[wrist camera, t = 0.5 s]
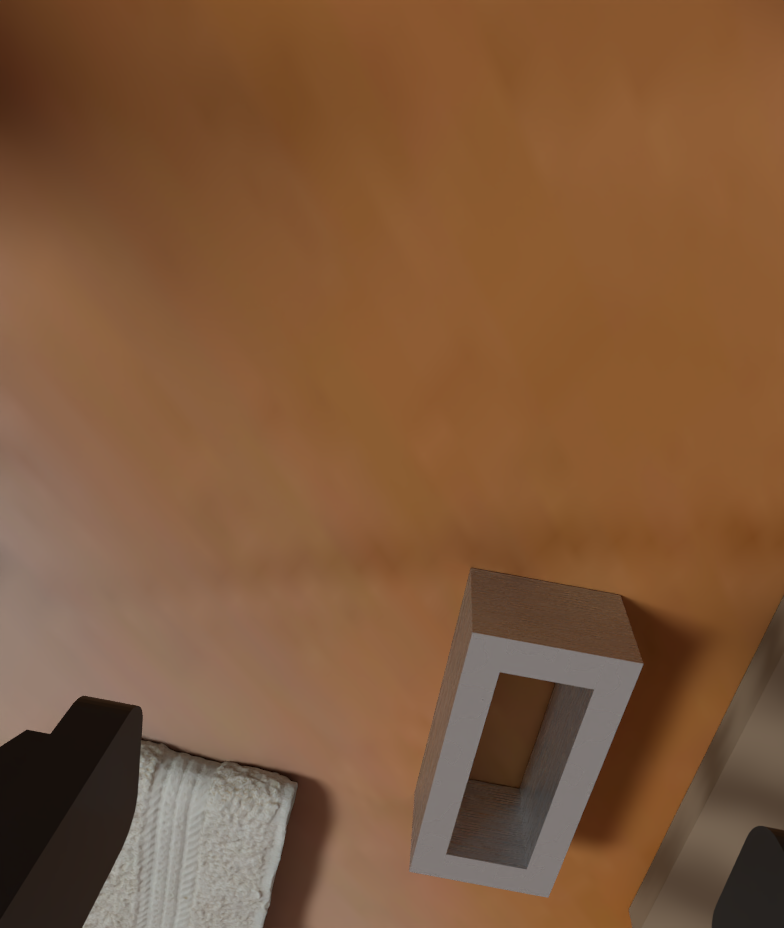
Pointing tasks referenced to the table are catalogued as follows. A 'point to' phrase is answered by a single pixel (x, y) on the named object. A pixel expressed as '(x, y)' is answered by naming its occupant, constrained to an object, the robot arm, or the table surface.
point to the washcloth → (197, 845)
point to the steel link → (558, 742)
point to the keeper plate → (723, 799)
